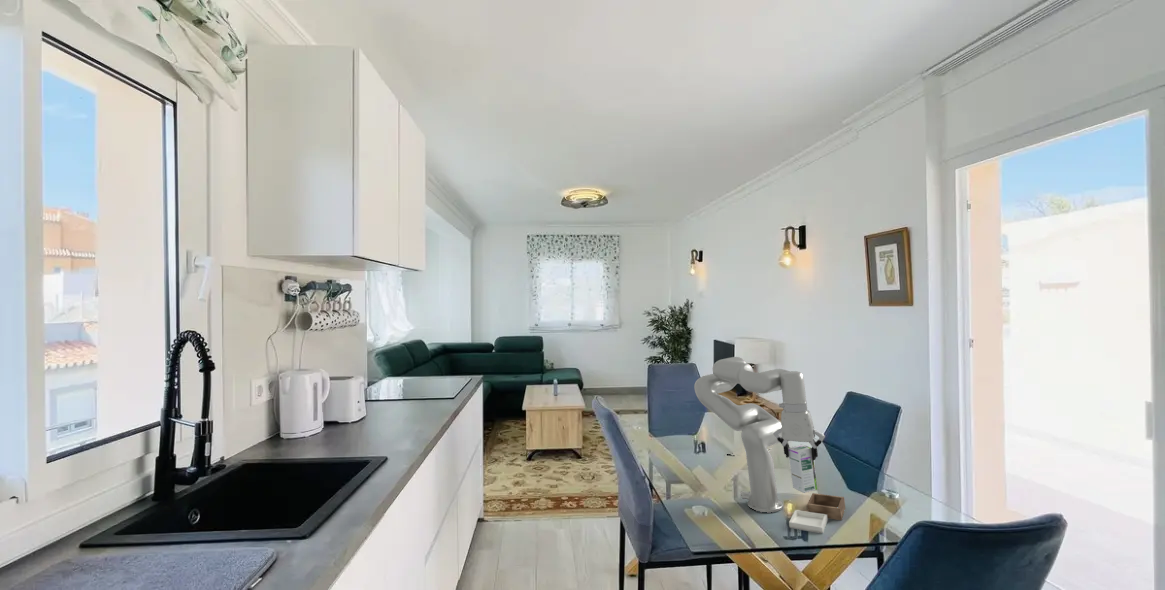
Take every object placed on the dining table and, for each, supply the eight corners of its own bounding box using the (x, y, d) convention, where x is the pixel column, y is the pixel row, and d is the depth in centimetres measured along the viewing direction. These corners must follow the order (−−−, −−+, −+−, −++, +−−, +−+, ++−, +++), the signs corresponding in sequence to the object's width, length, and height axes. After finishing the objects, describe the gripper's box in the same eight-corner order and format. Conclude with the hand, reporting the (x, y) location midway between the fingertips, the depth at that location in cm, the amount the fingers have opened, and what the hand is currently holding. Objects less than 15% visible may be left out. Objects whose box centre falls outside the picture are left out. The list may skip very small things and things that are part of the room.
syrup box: (803, 493, 162) (799, 451, 162) (792, 487, 168) (787, 446, 168) (817, 490, 163) (813, 448, 164) (805, 484, 169) (801, 443, 169)
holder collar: (808, 515, 172) (807, 504, 172) (813, 503, 180) (812, 493, 180) (841, 520, 165) (840, 508, 165) (845, 508, 174) (844, 497, 174)
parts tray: (789, 528, 164) (789, 522, 164) (796, 515, 173) (795, 509, 173) (822, 533, 158) (822, 527, 158) (827, 520, 167) (827, 514, 167)
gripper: (766, 408, 168) (772, 458, 168) (820, 410, 158) (827, 463, 158) (772, 404, 174) (777, 452, 174) (824, 405, 164) (830, 456, 164)
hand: (801, 457), depth 166 cm, fingers closed on syrup box, 8 cm apart
